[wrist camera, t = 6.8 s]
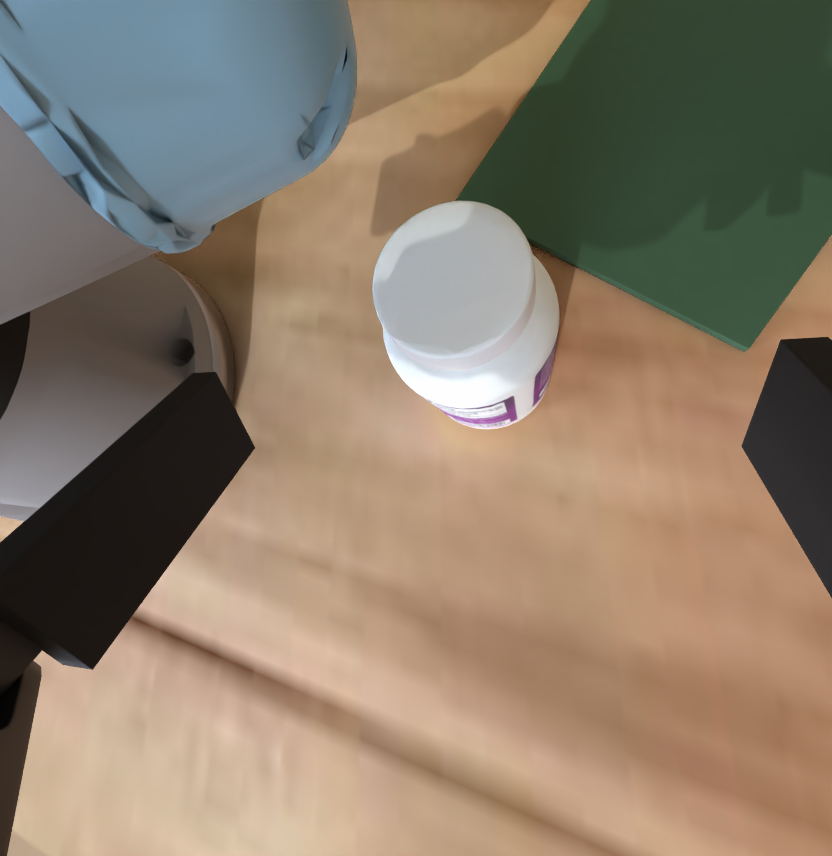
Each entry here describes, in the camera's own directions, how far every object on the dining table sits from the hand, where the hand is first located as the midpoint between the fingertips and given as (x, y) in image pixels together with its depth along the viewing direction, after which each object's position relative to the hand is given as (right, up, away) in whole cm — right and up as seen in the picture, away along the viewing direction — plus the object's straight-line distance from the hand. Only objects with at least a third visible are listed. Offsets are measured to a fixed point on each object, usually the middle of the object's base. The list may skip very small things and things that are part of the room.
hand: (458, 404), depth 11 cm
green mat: (+10, +12, +8) cm, 18 cm away
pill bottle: (+2, +2, +9) cm, 9 cm away
